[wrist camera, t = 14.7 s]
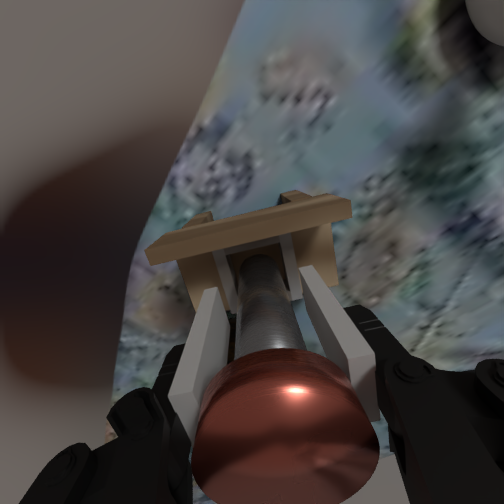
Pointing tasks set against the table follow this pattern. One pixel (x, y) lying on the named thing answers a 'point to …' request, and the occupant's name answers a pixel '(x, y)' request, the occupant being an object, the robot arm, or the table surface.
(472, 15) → the flower in vase
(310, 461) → the pin
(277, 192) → the table surface
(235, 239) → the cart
